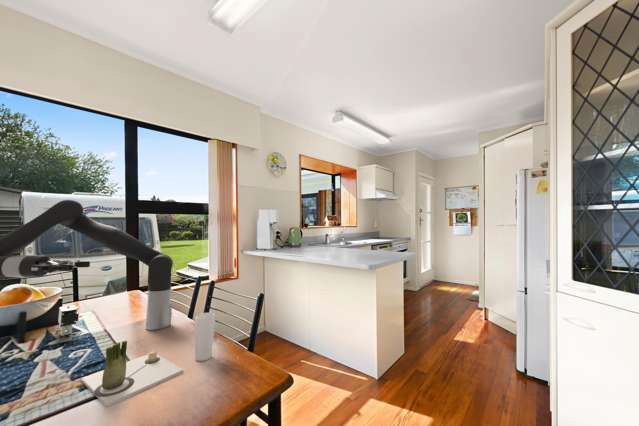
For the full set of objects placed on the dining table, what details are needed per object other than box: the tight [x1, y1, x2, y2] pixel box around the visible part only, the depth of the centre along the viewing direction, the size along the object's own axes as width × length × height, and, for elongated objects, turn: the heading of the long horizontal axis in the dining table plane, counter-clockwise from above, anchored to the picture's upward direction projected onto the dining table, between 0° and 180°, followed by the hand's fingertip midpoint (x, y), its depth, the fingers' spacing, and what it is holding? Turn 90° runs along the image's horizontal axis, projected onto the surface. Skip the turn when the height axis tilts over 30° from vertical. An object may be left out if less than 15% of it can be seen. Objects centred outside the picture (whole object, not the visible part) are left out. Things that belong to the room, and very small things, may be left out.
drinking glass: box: [194, 312, 216, 362], centre depth 93 cm, size 7×7×15 cm
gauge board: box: [80, 350, 184, 408], centre depth 80 cm, size 20×20×3 cm
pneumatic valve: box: [57, 304, 80, 337], centre depth 111 cm, size 6×12×12 cm, turn 50°
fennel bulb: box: [102, 339, 128, 390], centre depth 74 cm, size 6×5×12 cm
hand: (81, 265), depth 93 cm, fingers open, 8 cm apart
